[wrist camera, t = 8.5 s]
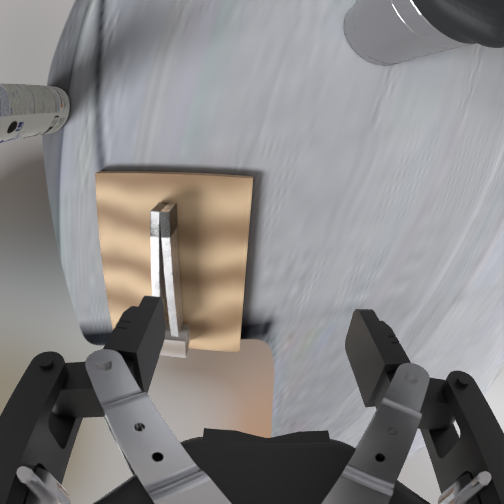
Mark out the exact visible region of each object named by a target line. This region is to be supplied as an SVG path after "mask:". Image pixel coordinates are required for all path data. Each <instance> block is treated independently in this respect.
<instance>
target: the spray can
mask: <svg viewBox="0 0 504 504" xmlns="http://www.w3.org/2000/svg"><path fill="white" fill-rule="evenodd" d="M69 113H70V100H69V97H68V95H67V94H66V92H65V91H64V90H62V89H60V88H58V87H53V86H40V85H25V84H0V143H1V142H5V141H10V140H15V139H21V138H26V137H31V136H37V135H44V134H49V133H53V132H56V131H58V130H59V129H60V128H62V127H63V126H64V125H65V123H66V121H67V119H68V117H69Z"/></svg>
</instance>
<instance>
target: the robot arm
mask: <svg viewBox="0 0 504 504" xmlns="http://www.w3.org/2000/svg"><path fill="white" fill-rule="evenodd" d="M344 32H345V36H346V38H347V41H348V43H349V44H350V46H351V47H352V49H353V50H354V51H355V52H356V53H357V54H358V55H359V56H361V57H362V58H363V59H365V60H367V61H368V62H371V63H374V64H376V65H383V66H386V65H393V64H398V63H400V62H403V61H407V60H410V59H414V58H417V57H421V56H425V55H429V54H432V53H436V52H440V51H444V50H448V49H453V48H457V47H461V46H466V45H470V44H475V43H478V44H481V45H484V46H487V47H493V48H502V47H504V0H356V4H355V5H354V6H353V7H352V8H351V9H350V10H349V11H348V13H347V14H346V17H345V20H344ZM395 336H396V335H395V334H394V332H393V330H392V329H391V327H390V326H388V325H387V324H386V323H385V322H384V321H379V319H378V317H377V316H376V314H375V312H374V311H373V310H372V309H356V310H355V311H354V313H353V316H352V320H351V323H350V326H349V330H348V333H347V337H346V341H345V349H346V353H347V356H348V359H349V361H350V364H351V367H352V370H353V373H354V375H355V378H356V381H357V384H358V387H359V390H360V393H361V396H362V399H363V402H364V405H365V407H373V406H376V409H377V410H376V412H375V414H374V416H373V418H372V420H371V422H370V424H369V425H368V427H367V429H366V431H365V433H364V434H363V436H362V438H361V440H360V441H359V443H358V445H357V447H356V448H354V447H352V446H350V445H348V444H346V443H343V442H341V441H337V440H333V439H330V438H329V433H328V431H306V432H295V433H291V434H287V435H282V436H277V437H272V438H264V437H259V436H255V435H251V434H246V433H242V432H239V431H233V430H218V429H206V428H204V434H203V437H197V438H192V439H189V440H185V441H183V442H179V441H178V439H177V438H176V437H175V435H174V434H173V432H172V431H171V429H170V428H169V426H168V425H167V423H166V422H165V420H164V419H163V417H162V416H161V414H160V413H159V411H158V410H157V408H156V406H155V405H154V403H153V402H152V400H151V399H150V397H149V395H148V394H147V393H148V390H149V386H150V383H151V380H152V377H153V374H154V370H155V368H156V364H157V361H158V358H159V355H160V352H161V349H162V346H163V343H164V340H165V317H164V304H163V298H162V297H156V296H146V295H145V296H144V297H143V299H142V301H141V303H140V304H139V306H138V307H137V306H131V307H130V308H128V309H127V310H126V311H124V312H123V314H122V315H121V317H120V319H119V322H117V324H116V326H115V328H114V330H113V331H112V333H111V335H110V337H109V339H108V341H107V342H106V344H105V346H104V348H103V349H102V350H98V351H95V352H93V353H92V354H90V355H89V356H88V357H87V359H86V361H85V362H75V363H65V361H64V359H63V357H62V356H61V355H60V354H59V353H56V352H43V353H41V354H39V355H37V356H36V357H35V358H34V359H33V360H32V361H31V363H30V365H29V366H28V368H27V369H26V371H25V373H24V374H23V376H22V378H21V380H20V381H19V383H18V385H17V387H16V388H15V390H14V392H13V394H12V396H11V397H10V399H9V401H8V403H7V405H6V406H5V408H4V410H3V412H2V414H1V416H0V504H70V497H69V495H68V493H67V492H66V490H65V489H64V488H63V487H62V486H61V484H62V481H63V477H64V474H65V471H66V467H67V464H68V461H69V457H70V455H71V451H72V448H73V445H74V442H75V439H76V436H77V433H78V430H79V427H80V424H81V422H82V419H83V417H104V418H105V421H106V423H107V425H108V427H109V429H110V431H111V433H112V435H113V438H114V440H115V442H116V444H117V446H118V448H119V450H120V451H121V454H122V456H123V458H124V459H125V461H126V463H127V465H128V467H129V469H130V471H131V473H132V474H133V476H132V477H131V478H129V479H128V480H127V481H126V482H124V483H122V484H121V485H120V486H118V487H117V488H115V489H114V490H112V491H111V492H109V493H108V494H107V495H105V496H104V497H102V498H101V499H99V500H97V501H96V502H94V503H93V504H430V503H429V502H427V501H426V500H424V499H423V498H421V497H420V496H419V495H417V494H416V493H414V492H413V491H412V490H410V489H409V488H407V487H406V486H405V485H403V484H402V483H400V482H399V481H398V480H397V478H398V476H399V474H400V471H401V469H402V467H403V465H404V462H405V460H406V457H407V455H408V452H409V450H410V447H411V445H412V442H413V440H414V437H415V434H416V431H417V429H418V428H419V429H420V430H421V433H422V435H423V438H424V441H425V444H426V447H427V450H428V453H429V456H430V459H431V462H432V464H433V468H434V471H435V474H436V478H437V481H438V484H439V487H440V491H441V495H440V497H439V500H438V504H504V433H503V431H502V429H501V428H500V425H499V423H498V422H497V420H496V418H495V416H494V414H493V412H492V410H491V408H490V407H489V405H488V403H487V401H486V399H485V398H484V396H483V394H482V392H481V391H480V389H479V387H478V385H477V384H476V382H475V380H474V379H473V378H472V377H471V376H470V375H469V374H467V373H465V372H462V371H453V372H451V373H450V374H449V375H448V377H447V378H446V380H442V379H435V378H430V377H429V374H428V372H427V371H426V370H425V369H424V368H423V367H421V366H419V365H417V364H413V363H411V362H410V360H409V358H408V357H407V355H406V353H405V351H404V350H403V348H402V346H401V344H400V343H399V341H398V339H397V337H395ZM455 420H456V422H457V424H458V426H459V428H460V433H461V434H460V438H459V436H458V434H457V431H456V429H455V427H454V424H453V422H454V421H455Z"/></svg>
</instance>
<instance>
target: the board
mask: <svg viewBox="0 0 504 504" xmlns="http://www.w3.org/2000/svg"><path fill="white" fill-rule="evenodd" d="M95 176H96V198H97V214H98V227H99V237H100V247H101V256H102V264H103V272H104V279H105V286H106V293H107V299H108V305H109V311H110V316H111V322H112V327H113V330H114V328H115V326H116V324H117V322H119V319H120V317H121V315H122V314H123V312H124V311H126V310H127V309H128V308H130V307H131V306H137V307H138V306H139V304H140V303H141V301H142V299H143V297H144V296H145V295H146V296H152V282H151V237H150V211H151V210H152V209H153V208H154V207H155V206H156V205H157V204H158V203H159V202H165V203H177V222H178V227H177V231H178V251H179V268H180V283H181V296H182V308H183V323H182V327H181V330H180V333H179V337H175V336H171V330H170V322H169V314H168V305H167V316H168V318H167V321H166V324H165V340H164V343H163V346H162V349H161V352H160V355H166V356H174V357H183V358H186V356H187V351H188V348H193V349H205V350H216V351H217V350H218V351H230V352H239V350H240V337H241V324H242V311H243V298H244V286H245V273H246V260H247V248H248V235H249V223H250V211H251V198H252V186H253V176H242V175H227V174H210V173H189V172H158V171H99V172H97V173H95Z"/></svg>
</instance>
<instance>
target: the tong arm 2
mask: <svg viewBox="0 0 504 504" xmlns="http://www.w3.org/2000/svg"><path fill="white" fill-rule="evenodd" d="M177 227H178V222H177V203H167V205H166V206H165V207H164V208H163V209H162V210H161V211H160V228H161V238H162V251H163V264H164V275H165V286H166V296H167V305H168V314H169V322H170V330H171V336H175V337H179V333H180V330H181V327H182V323H183V308H182V296H181V283H180V268H179V251H178V231H177Z"/></svg>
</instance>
